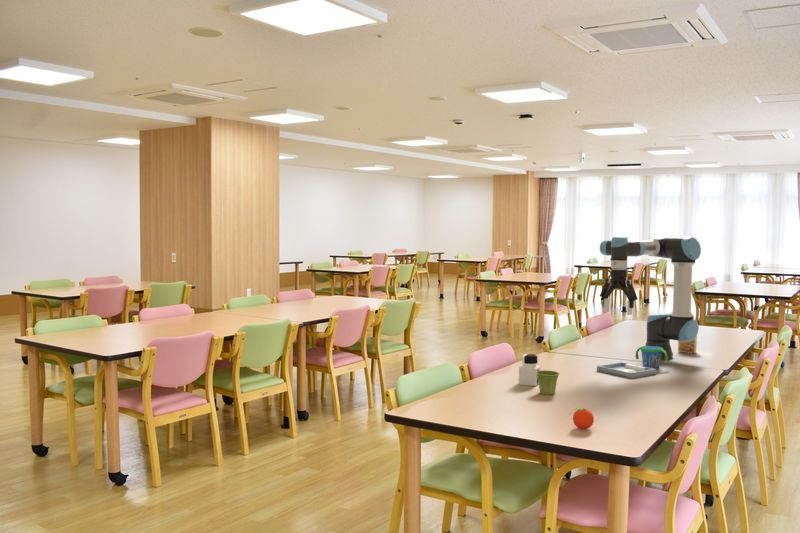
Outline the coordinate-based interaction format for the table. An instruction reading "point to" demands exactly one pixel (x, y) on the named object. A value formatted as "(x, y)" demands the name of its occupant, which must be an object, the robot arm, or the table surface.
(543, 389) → the plant pot
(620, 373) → the meal tray
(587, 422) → the tomato
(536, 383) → the container
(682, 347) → the candy box
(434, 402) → the table surface
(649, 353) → the snack cup
